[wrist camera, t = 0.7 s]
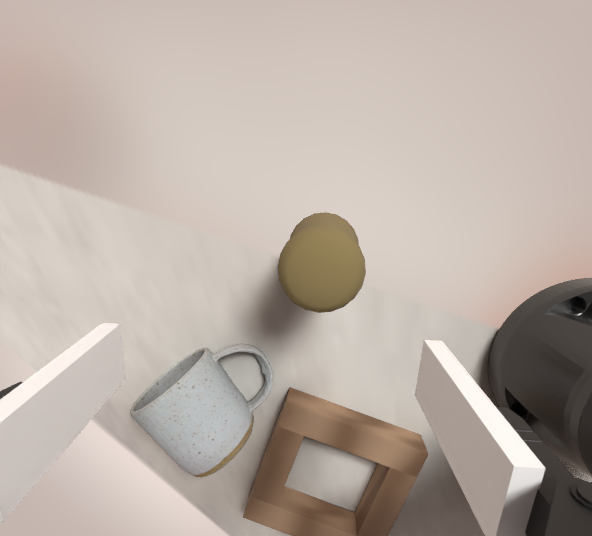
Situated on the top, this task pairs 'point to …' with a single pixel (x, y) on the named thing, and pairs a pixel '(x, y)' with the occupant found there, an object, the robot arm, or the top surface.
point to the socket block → (346, 436)
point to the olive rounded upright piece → (322, 263)
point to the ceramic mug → (200, 410)
